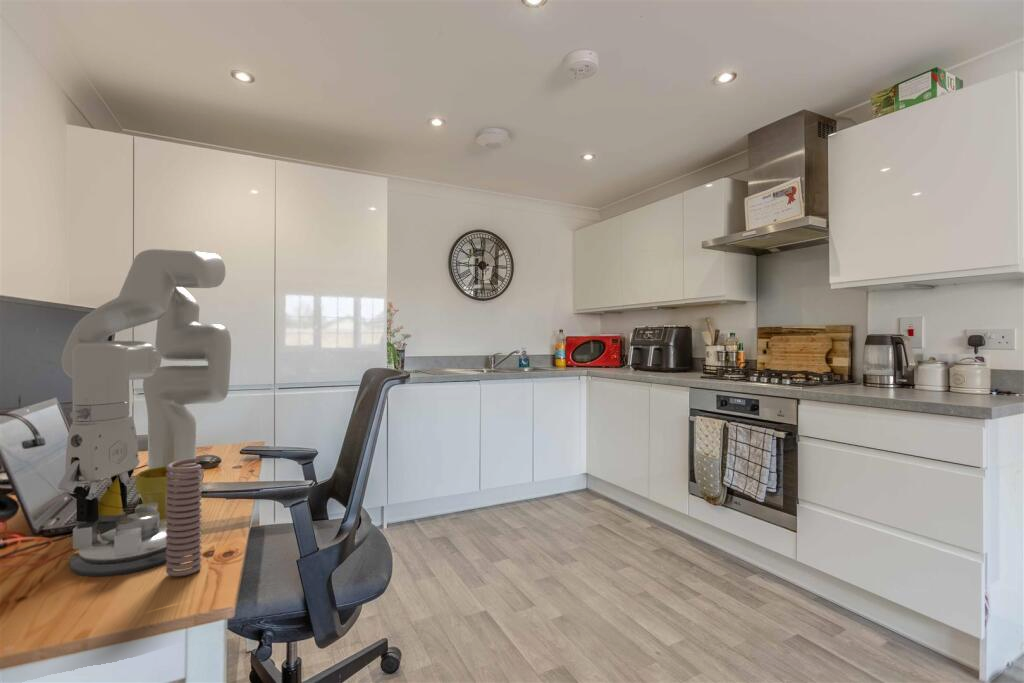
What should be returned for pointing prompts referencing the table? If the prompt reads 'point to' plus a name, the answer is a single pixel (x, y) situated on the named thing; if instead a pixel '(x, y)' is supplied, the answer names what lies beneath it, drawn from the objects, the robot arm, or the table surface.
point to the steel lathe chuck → (123, 537)
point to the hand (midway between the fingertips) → (102, 513)
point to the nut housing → (116, 565)
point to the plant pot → (154, 487)
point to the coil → (183, 517)
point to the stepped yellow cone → (110, 508)
